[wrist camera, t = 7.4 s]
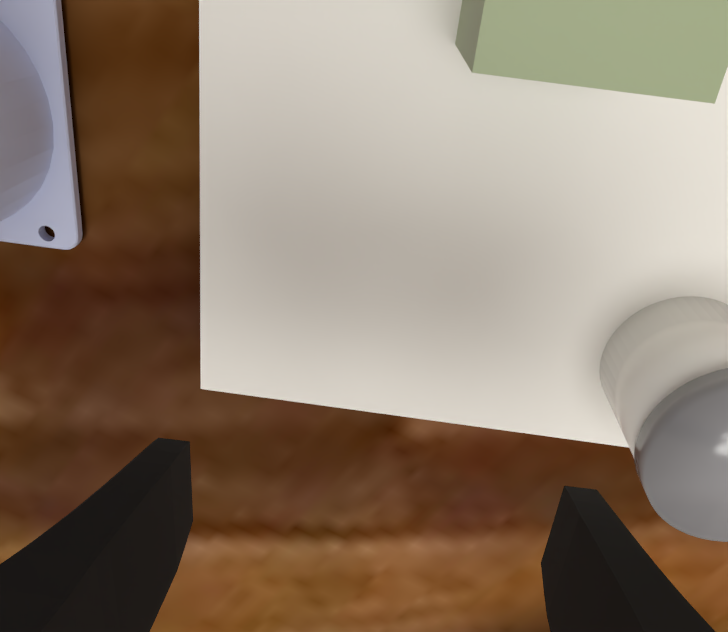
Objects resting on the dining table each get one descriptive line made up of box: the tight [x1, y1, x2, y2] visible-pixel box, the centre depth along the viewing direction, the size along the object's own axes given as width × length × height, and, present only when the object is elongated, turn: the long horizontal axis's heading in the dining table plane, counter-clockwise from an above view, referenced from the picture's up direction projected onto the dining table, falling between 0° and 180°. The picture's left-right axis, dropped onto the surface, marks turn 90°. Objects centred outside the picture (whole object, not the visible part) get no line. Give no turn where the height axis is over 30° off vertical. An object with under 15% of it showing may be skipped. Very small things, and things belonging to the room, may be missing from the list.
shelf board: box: [199, 0, 728, 447], centre depth 17 cm, size 18×22×3 cm
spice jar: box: [599, 296, 728, 542], centre depth 19 cm, size 5×5×5 cm
